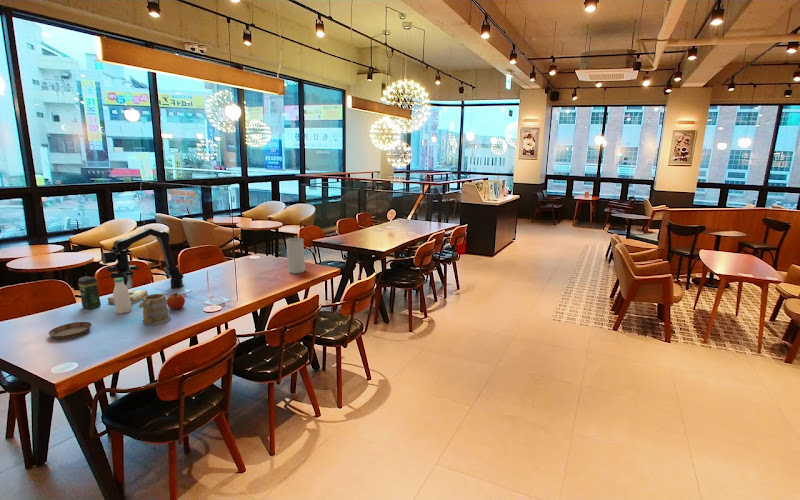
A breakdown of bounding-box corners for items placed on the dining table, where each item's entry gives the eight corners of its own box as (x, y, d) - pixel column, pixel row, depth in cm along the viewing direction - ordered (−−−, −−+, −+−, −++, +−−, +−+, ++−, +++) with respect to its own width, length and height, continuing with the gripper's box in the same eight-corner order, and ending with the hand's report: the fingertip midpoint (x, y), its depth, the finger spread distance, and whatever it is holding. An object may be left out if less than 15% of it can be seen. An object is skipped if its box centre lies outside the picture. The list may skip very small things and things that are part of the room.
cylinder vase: (302, 273, 323) (301, 241, 318) (286, 273, 323) (284, 241, 318) (306, 269, 335) (304, 238, 330) (290, 269, 336) (288, 238, 330)
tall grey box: (132, 287, 268) (130, 274, 267) (129, 288, 266) (127, 276, 264) (124, 287, 268) (122, 274, 267) (121, 288, 266) (119, 276, 264)
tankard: (152, 316, 241) (149, 291, 237) (174, 316, 240) (171, 291, 237) (129, 331, 221) (125, 303, 218) (153, 331, 221) (149, 303, 217)
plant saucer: (44, 343, 207) (42, 338, 207) (55, 330, 223) (54, 324, 222) (87, 337, 214) (86, 331, 213) (96, 324, 230) (95, 319, 229)
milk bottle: (134, 310, 250) (129, 277, 246) (122, 314, 243) (117, 280, 239) (125, 308, 253) (119, 275, 248) (112, 313, 246) (107, 279, 241)
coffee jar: (103, 306, 257) (98, 276, 253) (89, 310, 250) (83, 279, 246) (94, 303, 262) (89, 274, 257) (80, 307, 255) (74, 277, 251)
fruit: (182, 304, 260) (180, 288, 257) (188, 308, 253) (186, 292, 251) (165, 308, 253) (163, 292, 251) (170, 312, 247) (168, 295, 244)
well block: (147, 295, 275) (147, 290, 275) (134, 303, 262) (134, 297, 261) (123, 295, 275) (122, 290, 275) (108, 303, 262) (107, 297, 261)
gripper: (119, 256, 272) (123, 280, 276) (99, 264, 254) (103, 289, 257) (136, 256, 272) (140, 280, 276) (118, 264, 254) (122, 289, 257)
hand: (126, 284), depth 267 cm, fingers closed on tall grey box, 3 cm apart
